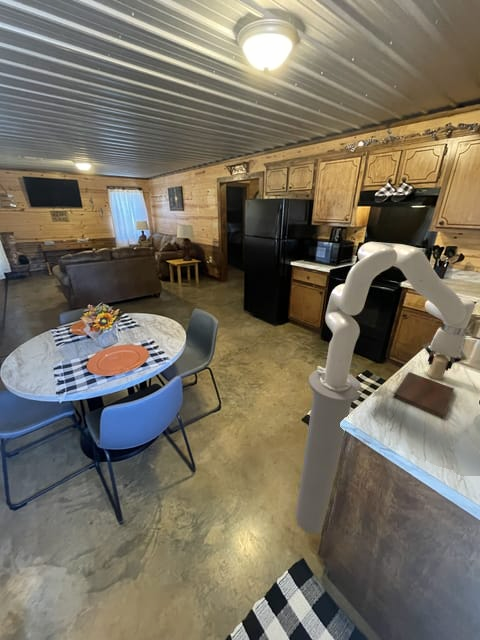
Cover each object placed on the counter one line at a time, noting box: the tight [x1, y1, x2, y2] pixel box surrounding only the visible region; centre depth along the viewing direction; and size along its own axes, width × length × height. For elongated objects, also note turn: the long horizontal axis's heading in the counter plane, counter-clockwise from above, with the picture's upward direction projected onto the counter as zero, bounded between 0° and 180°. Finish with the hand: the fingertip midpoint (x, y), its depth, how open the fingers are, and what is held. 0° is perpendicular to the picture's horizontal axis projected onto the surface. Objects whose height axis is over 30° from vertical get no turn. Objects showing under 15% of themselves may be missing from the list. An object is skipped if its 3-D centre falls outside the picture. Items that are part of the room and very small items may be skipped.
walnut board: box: [393, 371, 454, 419], centre depth 104 cm, size 16×20×2 cm
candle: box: [427, 353, 450, 380], centre depth 113 cm, size 6×6×10 cm
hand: (438, 366), depth 113 cm, fingers closed on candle, 5 cm apart
